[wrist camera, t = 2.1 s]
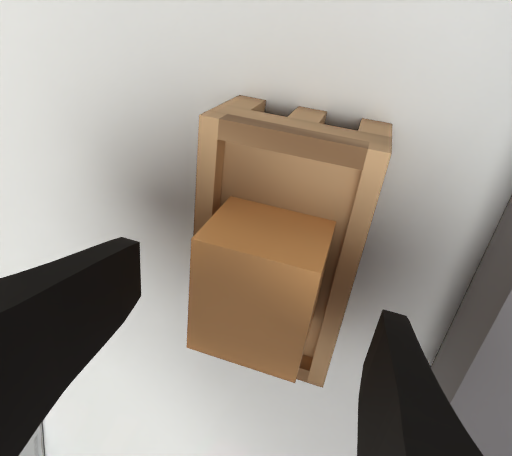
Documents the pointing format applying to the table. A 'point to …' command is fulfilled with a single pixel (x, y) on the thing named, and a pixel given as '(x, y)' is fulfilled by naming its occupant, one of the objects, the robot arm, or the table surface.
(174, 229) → the table surface
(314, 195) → the pallet
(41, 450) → the tea box
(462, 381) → the dock
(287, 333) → the light brown block
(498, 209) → the table surface
